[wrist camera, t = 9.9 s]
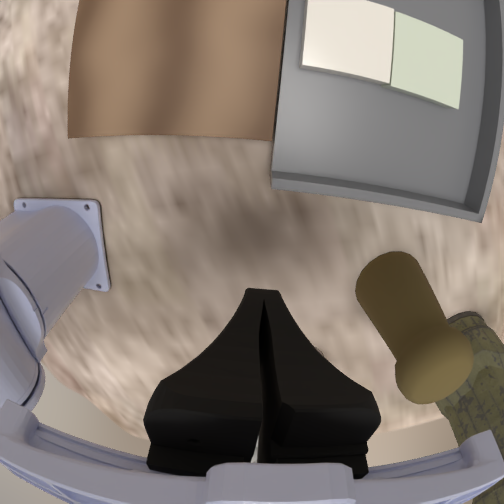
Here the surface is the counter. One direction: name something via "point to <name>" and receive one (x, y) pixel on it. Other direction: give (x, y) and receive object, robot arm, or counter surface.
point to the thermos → (479, 393)
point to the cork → (414, 328)
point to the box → (395, 122)
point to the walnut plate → (175, 68)
